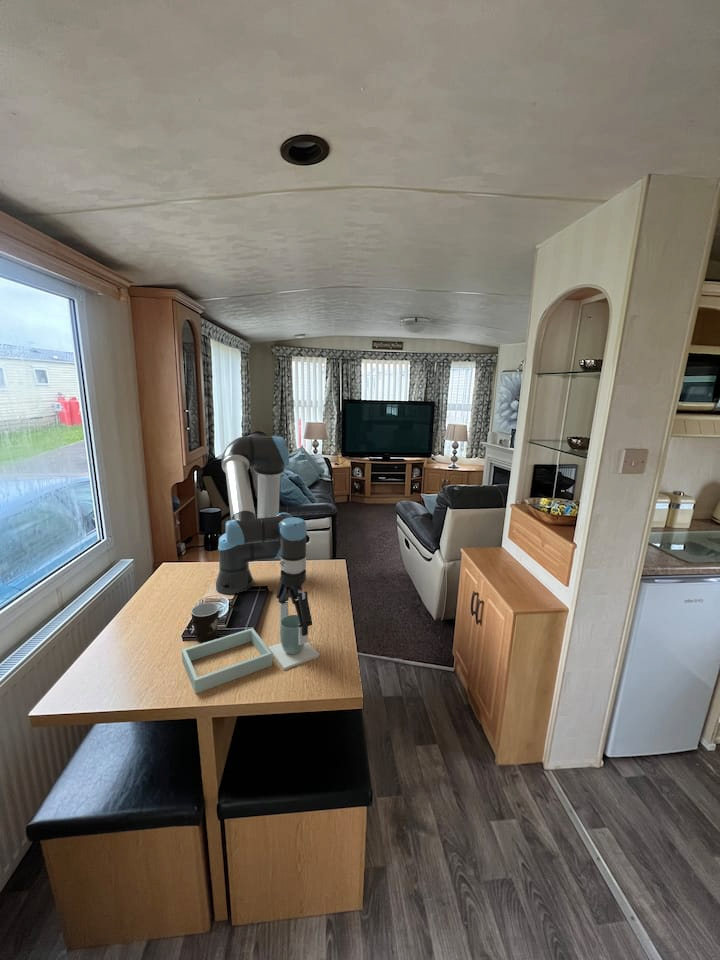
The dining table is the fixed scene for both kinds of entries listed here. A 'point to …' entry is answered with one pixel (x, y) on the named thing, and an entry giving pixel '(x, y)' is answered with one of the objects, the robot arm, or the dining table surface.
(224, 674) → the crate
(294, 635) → the cup
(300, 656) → the plate
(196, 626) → the coffee mug
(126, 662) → the dining table surface
